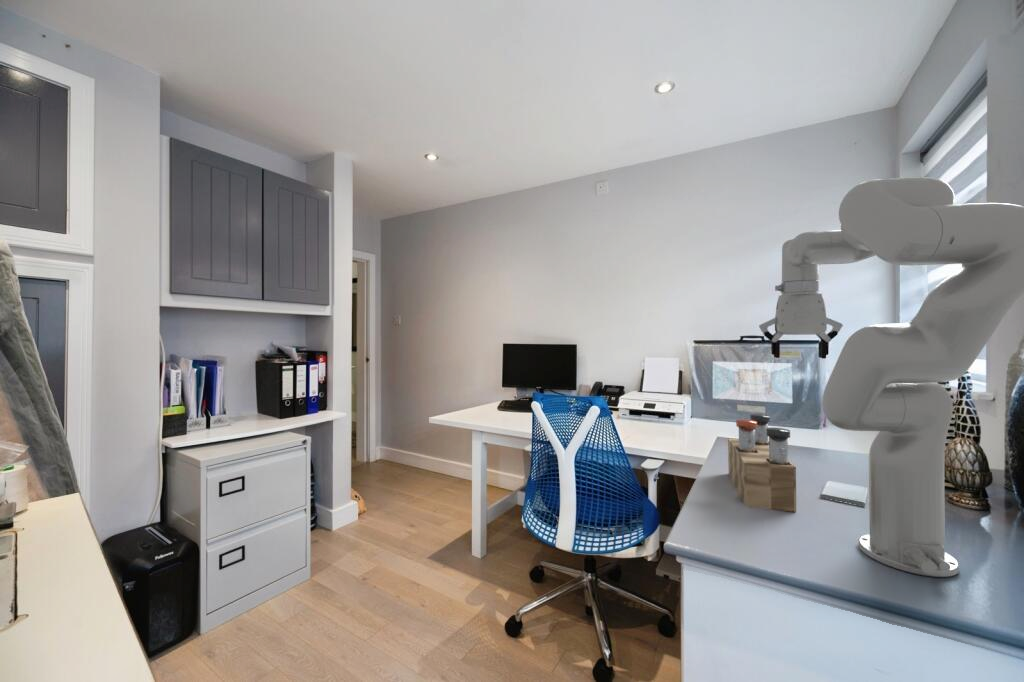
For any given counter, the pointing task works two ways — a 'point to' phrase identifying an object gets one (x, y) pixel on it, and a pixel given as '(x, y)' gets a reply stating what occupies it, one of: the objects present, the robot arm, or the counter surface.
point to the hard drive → (845, 493)
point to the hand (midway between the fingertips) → (799, 357)
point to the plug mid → (746, 435)
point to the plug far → (761, 428)
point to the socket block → (762, 478)
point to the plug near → (778, 445)
